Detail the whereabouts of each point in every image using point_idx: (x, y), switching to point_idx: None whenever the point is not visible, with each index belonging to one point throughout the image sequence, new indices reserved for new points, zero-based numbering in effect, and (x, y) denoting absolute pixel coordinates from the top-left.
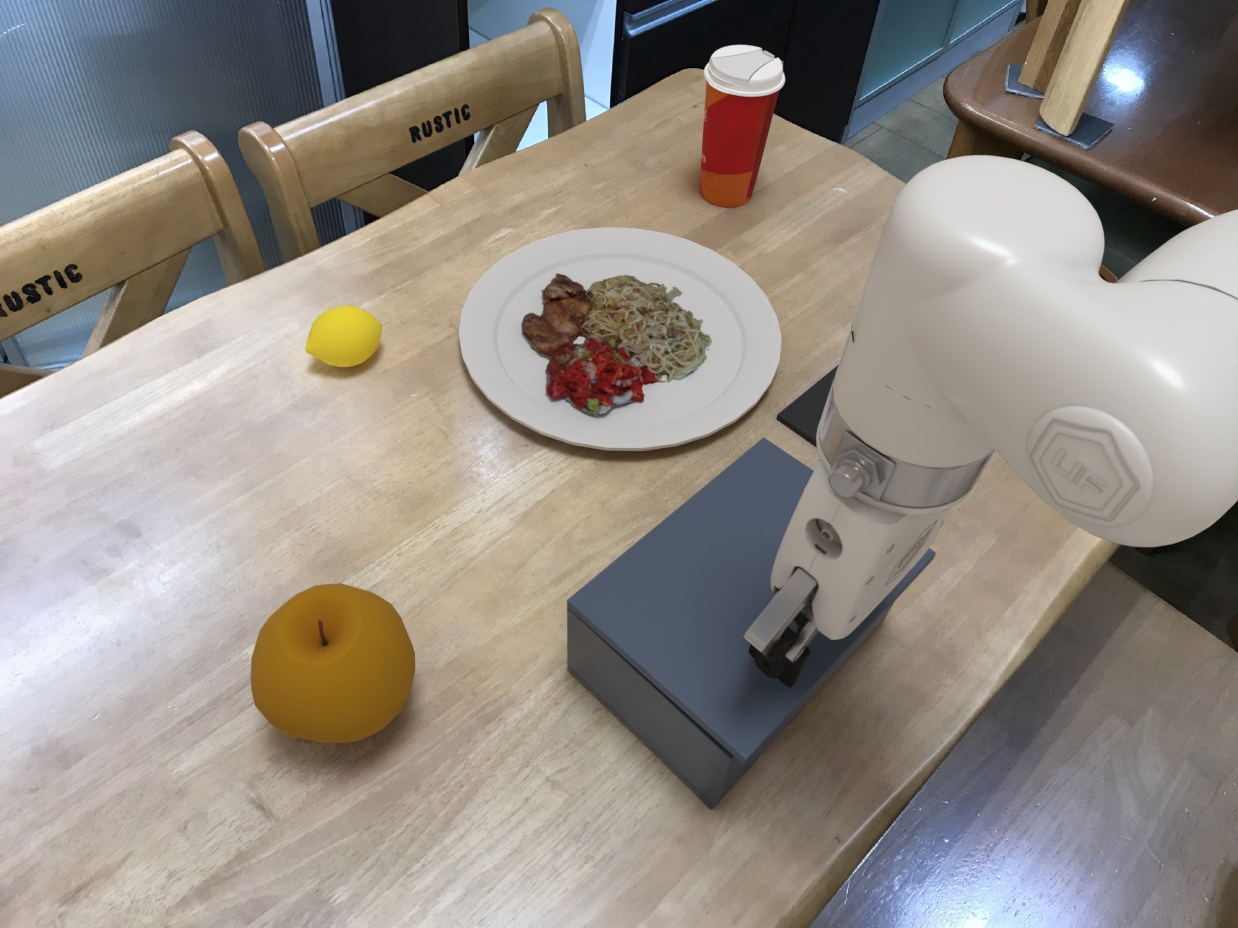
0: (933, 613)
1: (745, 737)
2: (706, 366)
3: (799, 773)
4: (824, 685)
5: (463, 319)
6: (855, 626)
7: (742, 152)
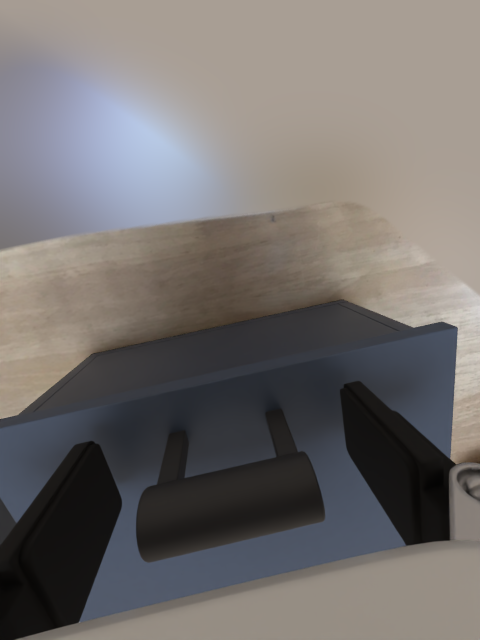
0: (35, 335)
1: (432, 350)
2: (79, 622)
3: (261, 283)
4: (189, 334)
5: None
6: (476, 582)
7: None
